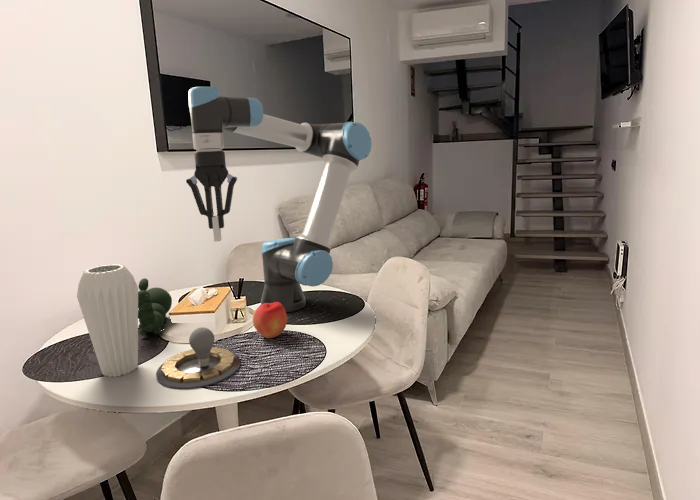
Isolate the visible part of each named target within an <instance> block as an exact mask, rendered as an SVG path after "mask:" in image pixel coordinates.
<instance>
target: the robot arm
mask: <svg viewBox="0 0 700 500" xmlns="http://www.w3.org/2000/svg"><path fill="white" fill-rule="evenodd" d="M188 108H189V113H190V114H189V115H190V123H191V124H190V125H191V132H192V134H191V135H192V144H193V149H194V150H196V151H195V152H194V155H193V156H194V163H195V164H194V165H195V170H194V173H193V174H194V175H193V176H191V177H190V178H187V179H186V184H187V185H188V186H189V188H190V189H191V192H192V194H193V198H194V200H195V202H196V206H197V209H198V211H199V213H200V215H201V216H206V217H207V220H208V221H207V223H208V228H209V229H210V230H211V229H212V231H213V241H214V242H215V243H217V242H221V241H222V229H224V228H225V219H224V215H228V214H229V213H230V211H231V206H232V200H233V193H234V186H235V185H236V183H237V181H238V177H237V176H234V175H232V174H231V173H229V170H228V169H227V163H226V154H225V153H226V152H225V150H223V149H224V148H225V142H224V133H223V132H224V131H226V132H231V133H235V134H239V135H243V136H248V137H252V138H255V139H261V140H264V141H267V142H273V143H276V144H281V145H284V146H289V147H293V148H295V150H297V151H298V152H300V153H306V154H309V155H312V156H314V157H315V156H316V157H318V158H322V159H323V161H324V168H323V171H322V173H321V177H320V179H319V183H318V186H317V189H316V192H315V195H314V198H313V200H312V204H311V207H310V209H309V213H308V216H307V217H306V218H307V219H306V222H305V225H304V229H303V230H302V233H301V234H300V235H297V236H296V237H285V238H279V239H272V240H267V241H264V242H263V243H262V244H261V255H262V257H261V258H262V267H263V269H262V270H263V278H264V279H263V280H264V287H263V291H262V295H261V298H260V305H262V304H264V303H274V302H280V303H281V304H282V305H283V307H284V308H285V311H286V313H292V312H296V311H298V310H300V309H303V308H304V307H305V306H306V297H305V296H306V295H305V294H304V291H303V289H302V286H308V287H318V286H320V285H321V284H324V283H326V281H327V280H328V278H330V276H331V274H332V272H333V267H334V263H333V257H332V255H331V254H330V252H331V249H332V247H331V246H330V243H329V240H330V238H331V234H332V232H333V229H334V226H335V222H336V218H337V216H338V213H339V210H340V206H341V203H342V201H343V198H344V195H345V191H346V188H347V185H348V182H349V179H350V176H351V173H352V172H354V171H356V170H357V169H358V167H359V163H360V161H362V160H364V159H366V158H367V157H368V156H369V155H370V152H371V150H372V137H371V135H370V132H369V130H368V128H367V127H366V126H365V125H364V124H362V123H360V122H357V121H353V122H352V121H346V122H336V123H335V122H334V123H321V124H315V123H308V122H302V123H297V122H295V121H294V122H293V121H290V120H286V119H283V118H280V117H276V116H273V115H268V114H265V113H264V107H263V104H262V102H261V101H260V100H259V99H258V98H255V97H249V96H247V97H243V96H242V97H240V96H238V97H237V96H222V95H221V94H220V90H219V88H217V87H215V86H214V87H213V86H195V87H190V89H189V90H188ZM226 179H227V180H226ZM225 180H226V181H227V183H228V184H227V191H226V196H225V203H224V206H223V194H222V185H223V183H224V182H225ZM198 182H200V184H201V185H202V186H203V188H204V189H203V190H204V195H205V204H206V205H205V204H204V200H203V198H202V195H201V192H200V190H199V189H200V188H199V186H198V185H197V184H198ZM212 187H213V189H214V195H215V203H216V204H215V205H216V213H217V214H216V215H215V212H214V205H213V196H212ZM223 207H224V208H223ZM301 285H302V286H301Z"/></svg>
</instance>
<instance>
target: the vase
mask: <svg viewBox="0 0 700 500" xmlns="http://www.w3.org/2000/svg"><path fill="white" fill-rule="evenodd" d="M82 272H83V273H82V275H81V277H80V279H79V282H78V286H77V294H76V298H77V300H78V304H79V307H80V310H81V314H82V317H83V319H84V323H85V325H86V329H87V332H88V334H89V338H90V340H91V343H92V346H93V349H94V352H95V355H96V356H95V357H96V358H97V362H98V365H99V367H100V371H101V373H102V376H104V377H108V378H111V377H113V378H116V377H121V376H122V375H124V376H125V375H127V374H131V372H133V371H135V370H136V369H137V368H138V363H139V362H138V361H139V360H138V359H139V357H138V356H139V355H138V353H139V327H138V326H139V319H138V310H139V309H138V292H139V285H138V284H137V282H136V280H135V277H134V275H133V274H132V272H131V271H130V270H129V269H128V268H127V267H126V266H125V265H124V264H117V263H115V264H104V265H98V266H93V267H89V268H88V269H87V268H86V269H85V270H84V271H82Z"/></svg>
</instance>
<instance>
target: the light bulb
mask: <svg viewBox="0 0 700 500" xmlns="http://www.w3.org/2000/svg"><path fill="white" fill-rule="evenodd" d="M188 338H189V339H188V342H189V346H190V347H191V349H193V350H194V351H195V352H196V355H197V357H198V359H199V366H202V367H206V366H208V365H209V364H210V361H209V360H210V359H209V356H210V351H211V348H213V346H214V343H215V341H216V340H215V334H214V333H213V331H212V330H210V329H209V328H207V327H198V328H196V329H194V330H193V331H192V332H191V334H190V335H189V337H188Z"/></svg>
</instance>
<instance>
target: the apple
mask: <svg viewBox="0 0 700 500" xmlns="http://www.w3.org/2000/svg"><path fill="white" fill-rule="evenodd" d="M252 324H253V327H254V329H255V330H256V331H257V333H258V334H260V335H261V336H262V337H264V338H266V339H273V338H275V337H278V336H279V335H281V334H282V333H283V332H284V330H285V329H286V326H287V324H288V316H287V312H286V311H285V308H284V307H283V305H282V304H281V303H280V302H274V303H264V304H262V305H261V304H260V305H259V306H258V307H257V308H256V309H255V311H253V315H252Z"/></svg>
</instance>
